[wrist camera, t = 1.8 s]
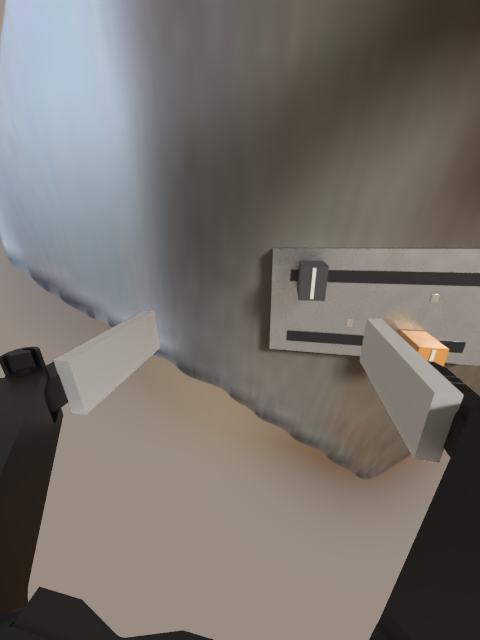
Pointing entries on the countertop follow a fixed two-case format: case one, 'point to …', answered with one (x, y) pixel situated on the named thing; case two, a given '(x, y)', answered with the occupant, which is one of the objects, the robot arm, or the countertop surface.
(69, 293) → the countertop surface
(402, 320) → the panel
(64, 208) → the countertop surface
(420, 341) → the orange fader
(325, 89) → the countertop surface
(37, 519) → the robot arm
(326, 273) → the black fader
